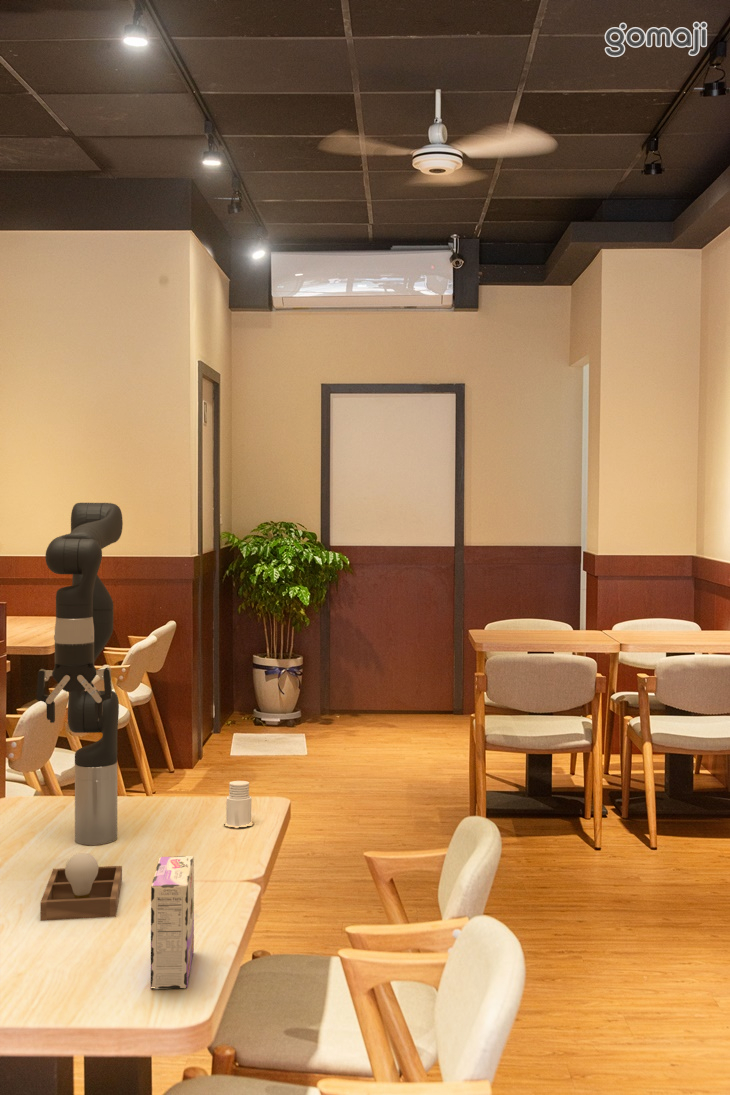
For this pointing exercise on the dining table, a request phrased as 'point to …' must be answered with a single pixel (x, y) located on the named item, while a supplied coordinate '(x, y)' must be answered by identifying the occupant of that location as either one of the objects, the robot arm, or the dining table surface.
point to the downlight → (238, 804)
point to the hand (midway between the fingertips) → (74, 721)
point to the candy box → (172, 922)
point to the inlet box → (99, 904)
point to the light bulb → (81, 873)
